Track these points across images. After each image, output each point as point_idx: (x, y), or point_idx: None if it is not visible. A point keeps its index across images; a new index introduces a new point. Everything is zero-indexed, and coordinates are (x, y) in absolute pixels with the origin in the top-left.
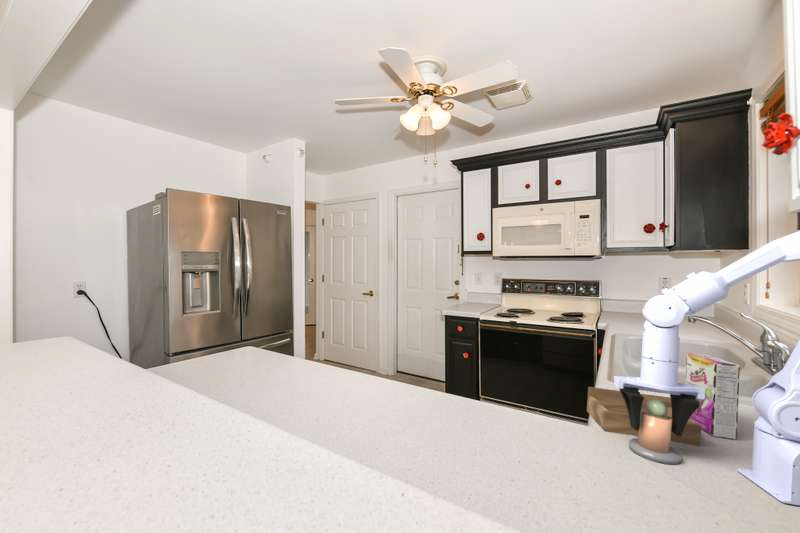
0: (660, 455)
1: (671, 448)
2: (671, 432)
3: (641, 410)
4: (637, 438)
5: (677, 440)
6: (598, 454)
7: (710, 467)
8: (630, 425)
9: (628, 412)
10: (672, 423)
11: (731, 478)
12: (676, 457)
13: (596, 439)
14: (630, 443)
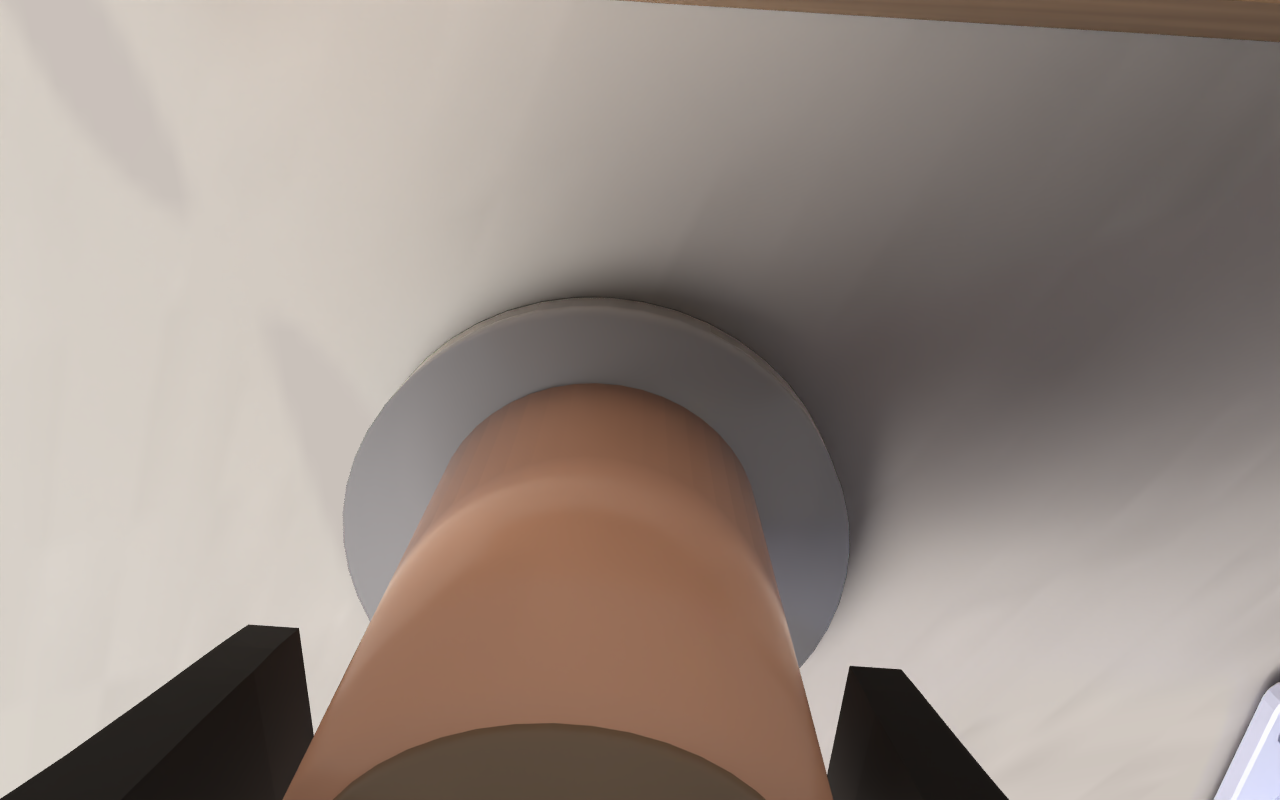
0: None
1: (822, 506)
2: (1223, 23)
3: (318, 783)
4: (505, 332)
5: (1240, 37)
6: (24, 684)
7: (1037, 654)
8: (238, 633)
9: (59, 772)
10: (886, 784)
11: (1061, 787)
12: None
13: (30, 345)
14: (348, 515)
